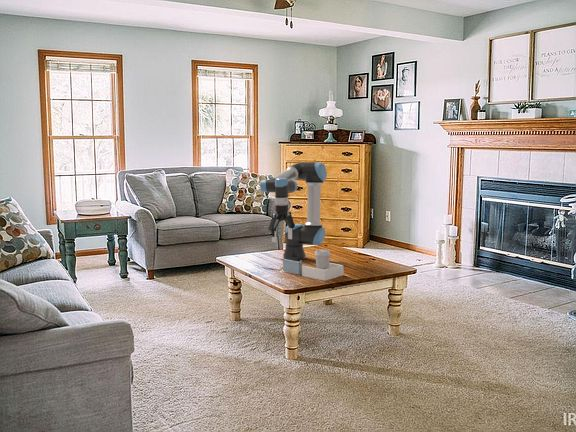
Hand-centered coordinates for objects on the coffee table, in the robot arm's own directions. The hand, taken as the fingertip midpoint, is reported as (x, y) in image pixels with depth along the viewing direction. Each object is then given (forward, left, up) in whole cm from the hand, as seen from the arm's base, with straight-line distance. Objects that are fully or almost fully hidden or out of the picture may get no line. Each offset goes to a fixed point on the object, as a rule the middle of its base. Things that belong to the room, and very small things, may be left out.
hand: (282, 240), depth 334 cm
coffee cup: (+18, +15, -21) cm, 32 cm away
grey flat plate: (+1, +7, -21) cm, 22 cm away
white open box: (+18, +15, -21) cm, 32 cm away
